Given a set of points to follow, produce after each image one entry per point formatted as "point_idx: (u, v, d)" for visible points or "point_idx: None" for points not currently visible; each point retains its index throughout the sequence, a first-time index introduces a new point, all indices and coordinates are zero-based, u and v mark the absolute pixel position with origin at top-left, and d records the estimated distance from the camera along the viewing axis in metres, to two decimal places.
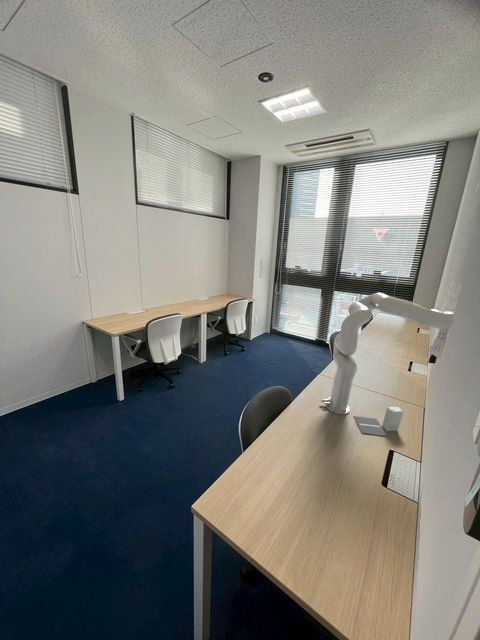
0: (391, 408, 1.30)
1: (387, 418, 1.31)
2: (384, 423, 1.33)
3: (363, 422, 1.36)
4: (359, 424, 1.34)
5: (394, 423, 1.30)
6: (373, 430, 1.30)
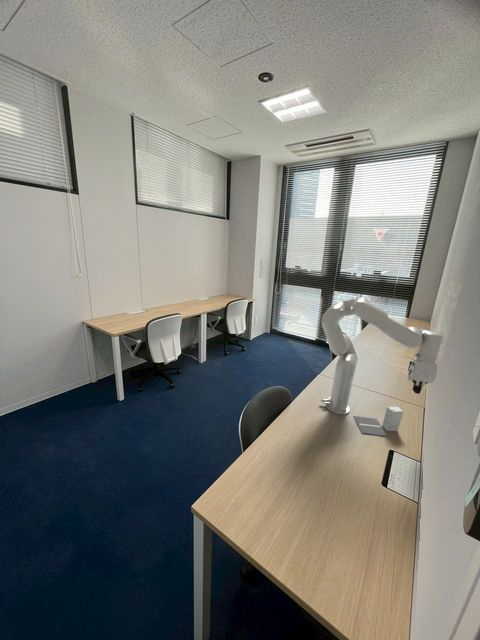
0: (391, 408, 1.30)
1: (387, 418, 1.31)
2: (384, 423, 1.33)
3: (363, 422, 1.36)
4: (359, 424, 1.34)
5: (394, 423, 1.30)
6: (373, 430, 1.30)
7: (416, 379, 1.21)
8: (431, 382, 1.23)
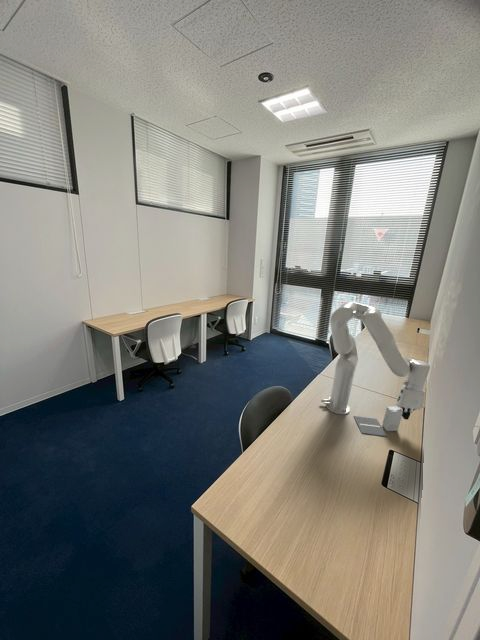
0: (391, 408, 1.30)
1: (387, 418, 1.31)
2: (384, 423, 1.33)
3: (363, 422, 1.36)
4: (359, 424, 1.34)
5: (394, 423, 1.30)
6: (373, 430, 1.30)
7: (404, 406, 1.26)
8: None
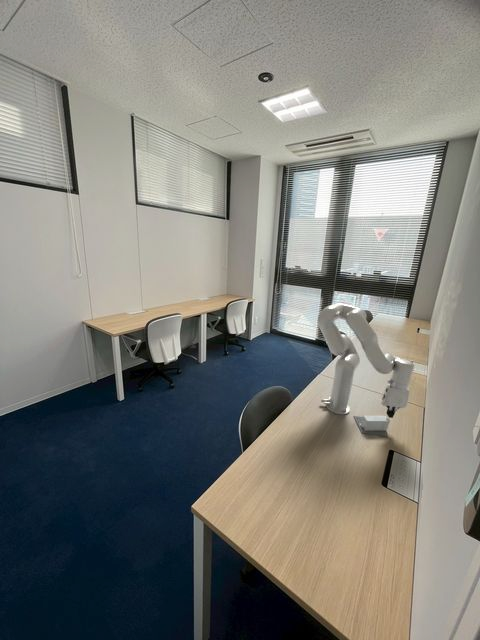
0: (362, 425, 1.32)
1: None
2: None
3: None
4: (359, 424, 1.34)
5: (379, 426, 1.30)
6: (373, 430, 1.30)
7: (389, 404, 1.27)
8: None
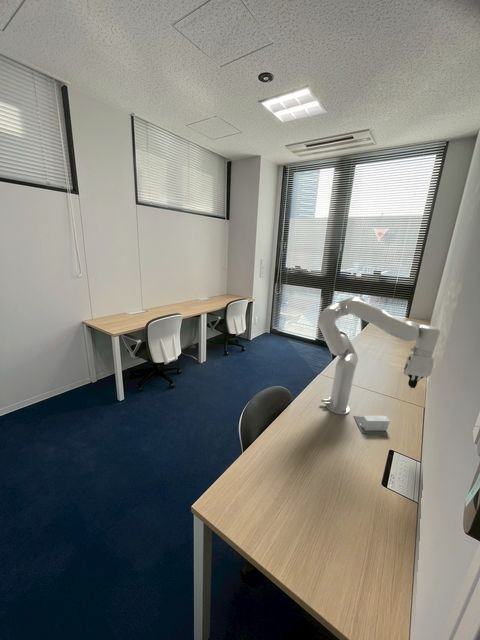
0: (362, 425, 1.32)
1: None
2: None
3: None
4: (359, 424, 1.34)
5: (379, 426, 1.30)
6: (373, 430, 1.30)
7: (412, 373, 1.21)
8: None
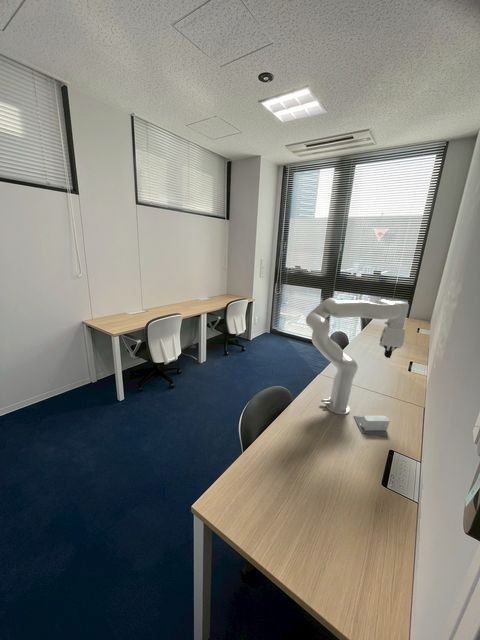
0: (362, 425, 1.32)
1: None
2: None
3: None
4: (359, 424, 1.34)
5: (379, 426, 1.30)
6: (373, 430, 1.30)
7: (386, 344, 1.37)
8: (400, 347, 1.38)
